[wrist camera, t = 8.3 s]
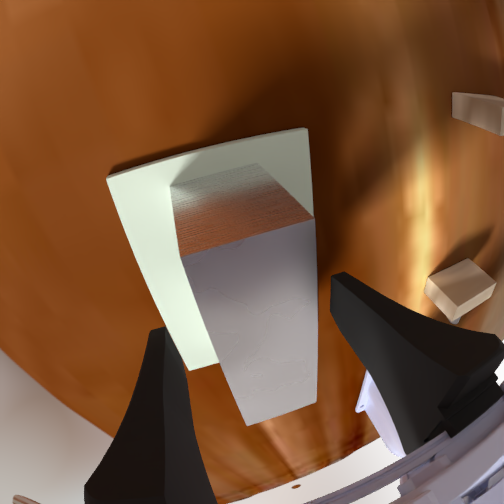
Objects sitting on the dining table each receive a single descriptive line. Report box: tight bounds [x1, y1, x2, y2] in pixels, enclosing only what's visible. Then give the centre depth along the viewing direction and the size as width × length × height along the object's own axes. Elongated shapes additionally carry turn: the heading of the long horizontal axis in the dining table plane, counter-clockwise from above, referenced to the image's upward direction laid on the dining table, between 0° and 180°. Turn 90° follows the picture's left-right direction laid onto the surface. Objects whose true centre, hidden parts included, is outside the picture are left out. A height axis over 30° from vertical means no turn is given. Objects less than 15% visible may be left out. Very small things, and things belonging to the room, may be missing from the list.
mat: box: [106, 127, 314, 371], centre depth 15 cm, size 12×8×1 cm, turn 7°
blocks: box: [424, 92, 504, 324], centre depth 17 cm, size 17×5×4 cm, turn 7°
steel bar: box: [170, 163, 318, 426], centre depth 13 cm, size 10×4×5 cm, turn 8°
